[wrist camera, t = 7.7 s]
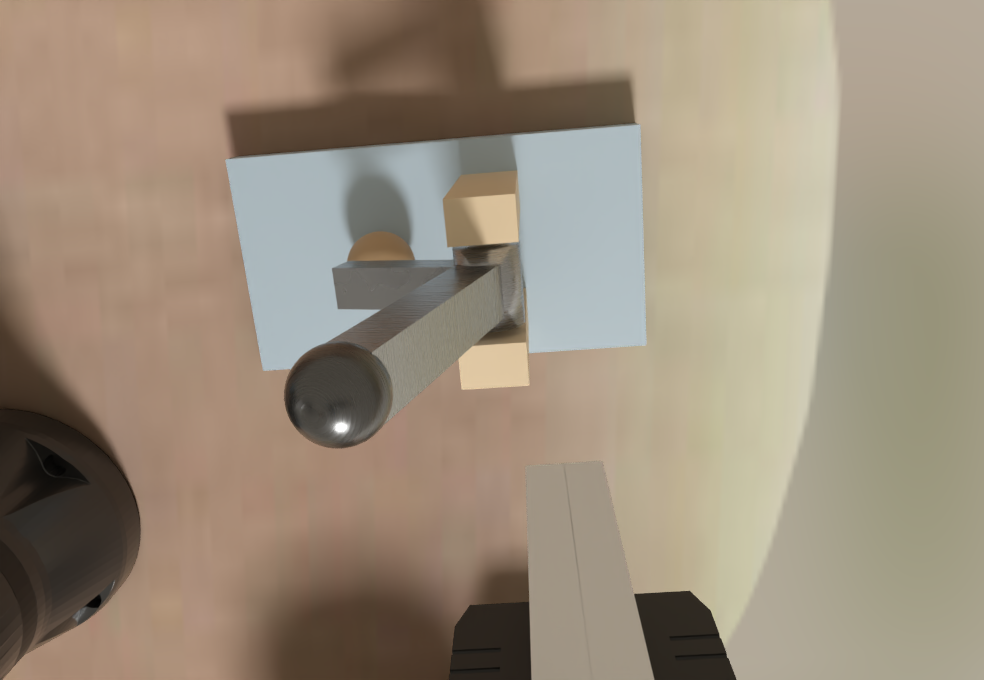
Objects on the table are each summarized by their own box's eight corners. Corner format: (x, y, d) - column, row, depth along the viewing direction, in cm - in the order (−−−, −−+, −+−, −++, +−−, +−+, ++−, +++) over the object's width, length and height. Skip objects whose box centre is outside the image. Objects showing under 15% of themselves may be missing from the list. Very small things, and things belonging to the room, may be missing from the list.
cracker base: (273, 359, 48) (195, 443, 37) (238, 156, 45) (139, 179, 33) (641, 334, 47) (679, 414, 35) (635, 123, 43) (674, 135, 32)
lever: (362, 312, 40) (116, 454, 26) (353, 241, 39) (90, 347, 25) (535, 314, 37) (369, 477, 23) (530, 238, 36) (352, 356, 21)
